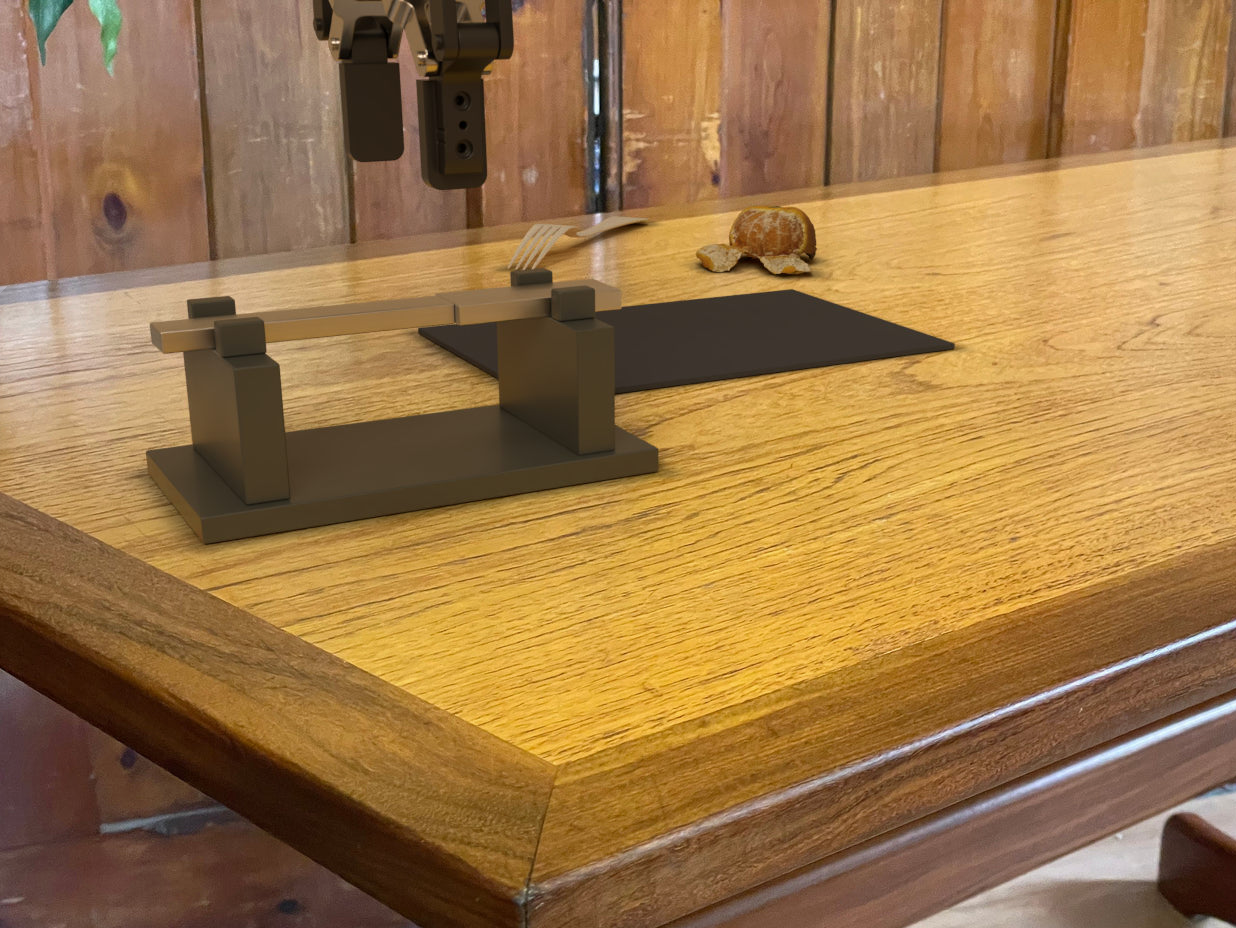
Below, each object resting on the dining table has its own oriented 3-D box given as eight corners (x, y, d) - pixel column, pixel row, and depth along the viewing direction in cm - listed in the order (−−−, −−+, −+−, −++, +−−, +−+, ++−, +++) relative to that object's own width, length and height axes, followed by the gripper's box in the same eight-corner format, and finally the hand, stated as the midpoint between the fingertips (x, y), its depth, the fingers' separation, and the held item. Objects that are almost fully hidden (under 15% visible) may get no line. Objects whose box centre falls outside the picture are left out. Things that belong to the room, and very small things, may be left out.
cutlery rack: (203, 545, 56) (182, 342, 53) (147, 474, 63) (127, 293, 61) (659, 471, 65) (659, 294, 62) (564, 417, 72) (560, 256, 69)
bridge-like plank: (165, 357, 56) (162, 334, 56) (148, 341, 58) (146, 320, 58) (622, 309, 65) (622, 289, 65) (593, 297, 67) (593, 278, 67)
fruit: (686, 269, 105) (686, 212, 104) (731, 248, 112) (732, 195, 111) (806, 279, 102) (808, 222, 101) (844, 258, 110) (847, 204, 108)
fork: (653, 254, 123) (654, 217, 122) (539, 271, 103) (540, 227, 103) (619, 251, 124) (620, 215, 123) (499, 268, 104) (500, 225, 104)
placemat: (540, 403, 74) (540, 397, 74) (418, 333, 87) (417, 327, 87) (954, 348, 85) (955, 343, 85) (792, 293, 98) (792, 289, 98)
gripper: (220, -296, 58) (261, 158, 64) (343, -355, 47) (379, 206, 53) (417, -280, 62) (439, 149, 68) (575, -331, 51) (586, 191, 56)
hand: (413, 173), depth 60 cm, fingers open, 8 cm apart
